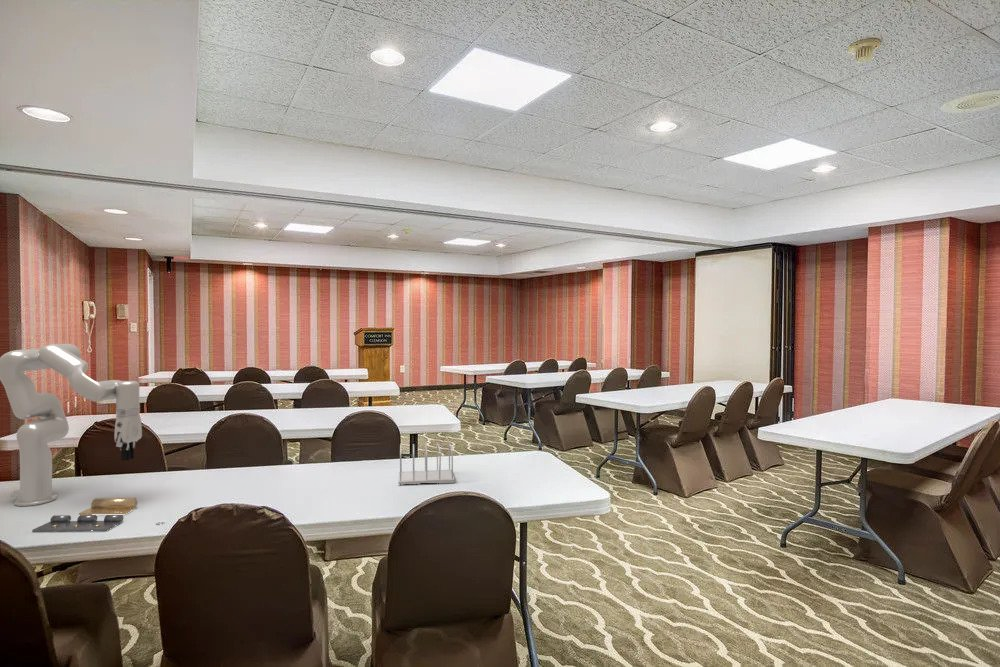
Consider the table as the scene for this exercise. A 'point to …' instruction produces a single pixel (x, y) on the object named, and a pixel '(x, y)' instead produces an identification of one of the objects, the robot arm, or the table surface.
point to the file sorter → (427, 476)
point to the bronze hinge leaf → (111, 506)
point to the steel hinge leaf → (79, 523)
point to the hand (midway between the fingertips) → (127, 459)
